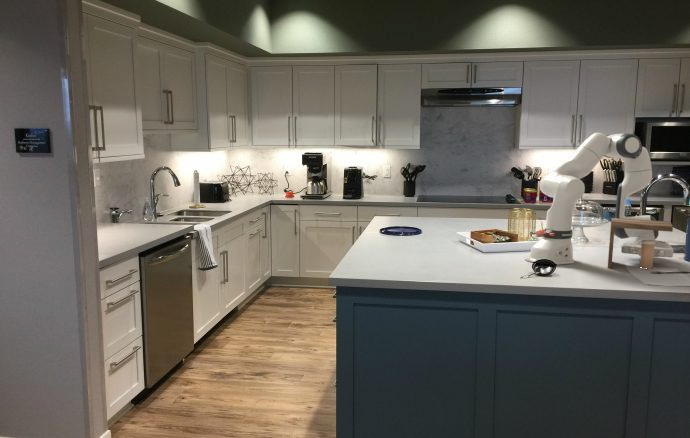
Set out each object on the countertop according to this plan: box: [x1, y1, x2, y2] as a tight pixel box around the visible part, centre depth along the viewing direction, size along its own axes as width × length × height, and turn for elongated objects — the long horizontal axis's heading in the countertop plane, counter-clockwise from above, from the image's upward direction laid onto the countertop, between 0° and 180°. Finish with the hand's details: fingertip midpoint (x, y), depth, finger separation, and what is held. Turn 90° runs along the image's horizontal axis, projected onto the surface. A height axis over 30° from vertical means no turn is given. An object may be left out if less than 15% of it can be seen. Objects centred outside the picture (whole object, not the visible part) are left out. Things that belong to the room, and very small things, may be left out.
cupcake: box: [535, 220, 544, 237], centre depth 300 cm, size 9×8×12 cm
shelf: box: [607, 217, 674, 269], centre depth 246 cm, size 15×23×20 cm, turn 64°
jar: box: [639, 240, 655, 270], centre depth 246 cm, size 5×5×12 cm
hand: (647, 253), depth 245 cm, fingers open, 8 cm apart
